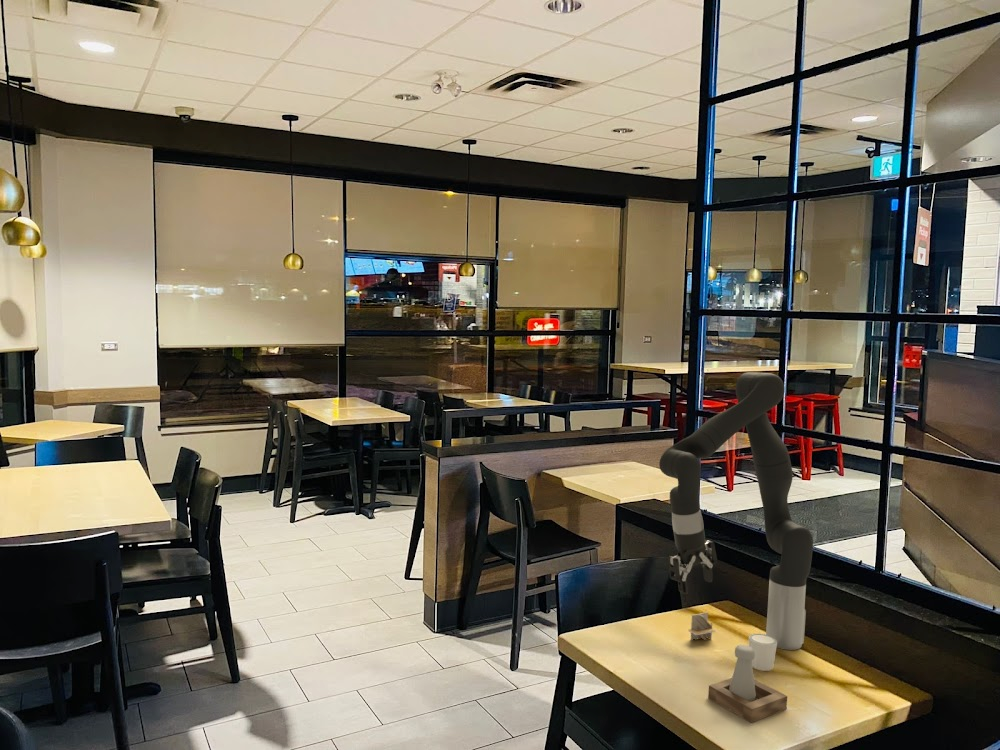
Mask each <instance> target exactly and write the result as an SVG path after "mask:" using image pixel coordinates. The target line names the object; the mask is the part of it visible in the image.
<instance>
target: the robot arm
mask: <svg viewBox="0 0 1000 750" xmlns="http://www.w3.org/2000/svg"><path fill="white" fill-rule="evenodd" d="M735 395H736V399H737V403H736V404H734V405H733V406H731V407H729V408H727V409H725V410H724V411H722V412H719V413H718V414H715V415H714V416H713V417H710V418H709V419H708V420H706V421H705V422H704V423H703V424H702V425H700V426H699V427H698V428H697V429H696V430H695V431H694V432H693V433H692V434H691V435H689V436H687V437H685V438H683V439H681V440H679V441H678V442H676V443H674V444H673V445H671V446H670V447H668V448H667V449H666V450H665V451H664V452H663V453H662V454H661V457H660V459H659V462H658V464H659V469H660V471H661V473H662V474H664V475H665V476H667V477H670V478H673V479H676V480H677V486H674V487H672V489H670V491H669V503H670V507H671V508H670V509H671V522H672V523H671V524H672V530H673V536H674V545H675V546H676V548H677V554H676V555H674V556H672V555H669V556H668V557H667V560H668V571H669V572H668V573H669V579H671V580H674V581H676V582H677V586H678V587H677V588H678V591H679V592H680V593H681V594H682V595H687V594H689V590H688V589H689V588H688V582H687V577H688V574H689V573H690V572H691V570H692V569H693V568H695V567H696V566H699V565H701V566H702V572H703V573H702V574H703V579H704V582H706V583H707V582H708V583H712V582H713V578H714V576H713V566H714V564H717V563H718V556H717V552H716V551H717V550H716V546H715V542H714V541H711V540H708V539H706V535H705V529H704V520H703V515H702V512H701V504H700V499H699V498H700V497H699V490H700V484H701V476H702V466H701V463H700V459H707V458H709V457H711V456H712V455H713V454H714V453H715V452H716V451H718V450H719V449H720V448H721V447H722V446H723V445H724V444H725V443H726V442H727V441H728V440H729V439H731V438H732V437H733V436H734V435H735V434H737V433H738V432H739V431H740V430H742V429H744V428H746V432H747V433H746V434H747V436H748V441H749V442H748V443H749V445H750V449H751V454H752V461H753V466H754V471H755V475H756V480H757V482H758V487H759V488H758V489H759V494H760V498H761V504H762V509H763V518H764V519H763V520H764V529H765V530H764V531H765V537H766V541H767V543H768V545H769V547H770V548H771V550H772V551H775V552H776V553H778V554H781V555H780V563H779V565H776V566H772V567H771V568H770V569H769V570H770V571H769V579H768V580H769V582H768V583H769V584H768V595H767V596H768V599H767V600H768V601H767V611H766V613H767V616H766V629H765V630H766V631H765V632H766V633H765V635H768V636H771V637H773V638H775V639H776V640H777V647H776V648H777V649H782V650H791V651H795V650H799V649H801V648H802V646H803V644H804V642H805V629H806V628H805V627H806V613H807V610H806V609H805V604H806V589H807V579H808V577H809V575H810V572H811V565H812V558H813V549H814V539H813V535H812V533H811V531H810V530H809V529H808V528H806V527H805V526H803V525H801V524H798V523H795V522H793V519H792V518H791V517H792V516H791V514H790V510H789V509H790V508H789V504H788V497H789V492H790V490H791V486H792V482H793V478H794V477H793V476H794V474H793V468H792V463H791V462H792V461H791V458H790V454H789V450H788V448H787V446H786V444H785V442H784V441H783V440H782V438H781V437H780V435H779V434H778V433H777V431H776V430H775V428H774V427H773V425H772V424H771V421H770V419H769V416H768V413H767V412H769V411H771V410H772V409H773V408H775V407H776V406H777V405H778V404H779V403H780V402H781V401H782V400H783V397H784V395H785V384H784V381H783V380H782V378H781V377H780V376H778V375H777V374H774V373H770V372H744V373H742V374H740V376H739V377H738V378H737V381H736V384H735ZM684 566H685V567H684Z"/></svg>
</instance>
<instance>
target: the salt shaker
mask: <svg viewBox="0 0 1000 750" xmlns="http://www.w3.org/2000/svg"><path fill="white" fill-rule="evenodd" d="M734 655H735V657H736V663H735V665H734V669H733V673H732V677H731V678H732V680H731V683H730V687H729V691H731V692H733V693H734V694H736V695H738V696H740V697H742V698H744V699H745V700H747V701H749V702H752V701H755V699H756V698H755V697H756V692H755V684H754V679H755V675H754V668H753V667H752V660H753V659H754V657H755V651H754V649H753V648H752V647H750V646H749V645H747V644H738V645H736V646H735V648H734Z"/></svg>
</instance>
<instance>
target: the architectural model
mask: <svg viewBox="0 0 1000 750" xmlns="http://www.w3.org/2000/svg"><path fill="white" fill-rule="evenodd" d="M708 619H709V612H708V611H706V612H702V613H701V612H700V613H697V614H691V625H690V626H691V627H690V629H688V632H690V641H694V640H693V639H695V640H698V639H697V638H700V639H701V638H702V640H703V641H707V639H709V638H710V639H709V640H712V638H713V637H712V633H715V632H716V629H715V628H713V623H712V622H708ZM707 637H708V638H707Z"/></svg>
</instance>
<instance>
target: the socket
mask: <svg viewBox="0 0 1000 750" xmlns="http://www.w3.org/2000/svg"><path fill="white" fill-rule="evenodd" d="M731 680H732V677H731V678H727V679H724V680H721V681H718V682H715V683H712V684H709V685H708V693H707V694H708V696H707V697H708V699H709V700H711V701H713V702H715V703H716V704H718V705H720V706H721V707H723V708H725V709H727V710H729V711H730V712H732V713H734V714H736V716H738V717H740V718H743V719H744V720H746V721H748V722H749V723H753V722H757V721H760V720H762V719H764V718H767V717H769V716H772V715H774V714H777V713H780V712H782V711H784V710H787V705H788V704H787V703H788V695H786V694H785V693H783V692H780V691H779V690H776V689H775V688H773V687H771V686H769V685H766V684H765V683H763V682H761V681H759V680H756V679H755V678H754V684H755V692H756V697H755V699H756V700H755V699H754V701H752V702H749V701H747V700H745V699H744V698H742V697H740V696H738V695H736V694H734V693H733V692H731V691H729V687H730V683H731Z"/></svg>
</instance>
